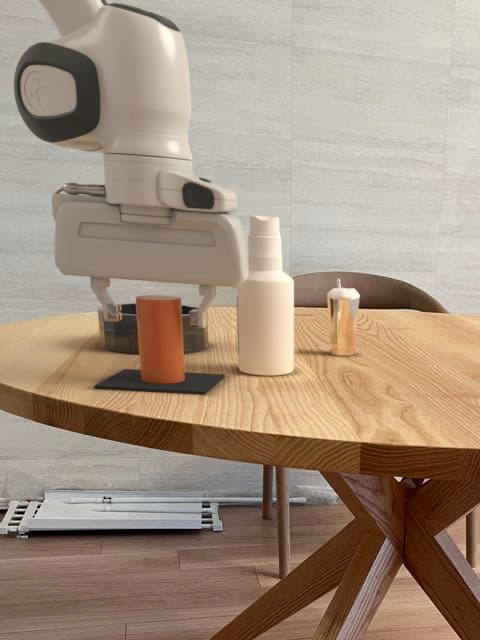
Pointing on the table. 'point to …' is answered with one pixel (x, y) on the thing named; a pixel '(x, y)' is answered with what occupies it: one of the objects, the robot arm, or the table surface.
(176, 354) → the orange cylinder
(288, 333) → the spray bottle
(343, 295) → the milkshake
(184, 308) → the pot
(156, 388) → the mat
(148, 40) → the robot arm
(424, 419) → the table surface
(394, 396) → the table surface
